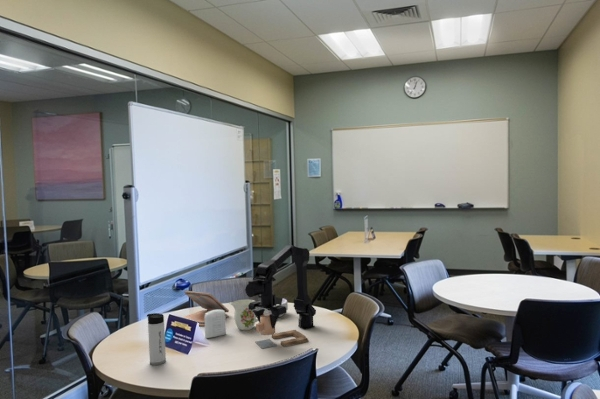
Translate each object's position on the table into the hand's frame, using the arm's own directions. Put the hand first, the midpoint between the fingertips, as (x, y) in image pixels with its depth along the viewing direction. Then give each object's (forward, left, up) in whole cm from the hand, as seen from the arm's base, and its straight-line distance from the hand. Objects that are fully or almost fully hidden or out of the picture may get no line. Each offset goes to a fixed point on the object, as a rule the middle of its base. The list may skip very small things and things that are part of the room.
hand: (267, 326), depth 193 cm
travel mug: (+47, -4, -8) cm, 48 cm away
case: (+17, -53, -8) cm, 56 cm away
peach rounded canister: (+1, +1, -2) cm, 3 cm away
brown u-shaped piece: (-10, 0, -8) cm, 12 cm away
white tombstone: (+18, -23, -8) cm, 30 cm away
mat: (+1, 0, -8) cm, 8 cm away
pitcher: (+1, -26, -8) cm, 27 cm away
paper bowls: (-18, -38, -8) cm, 43 cm away
